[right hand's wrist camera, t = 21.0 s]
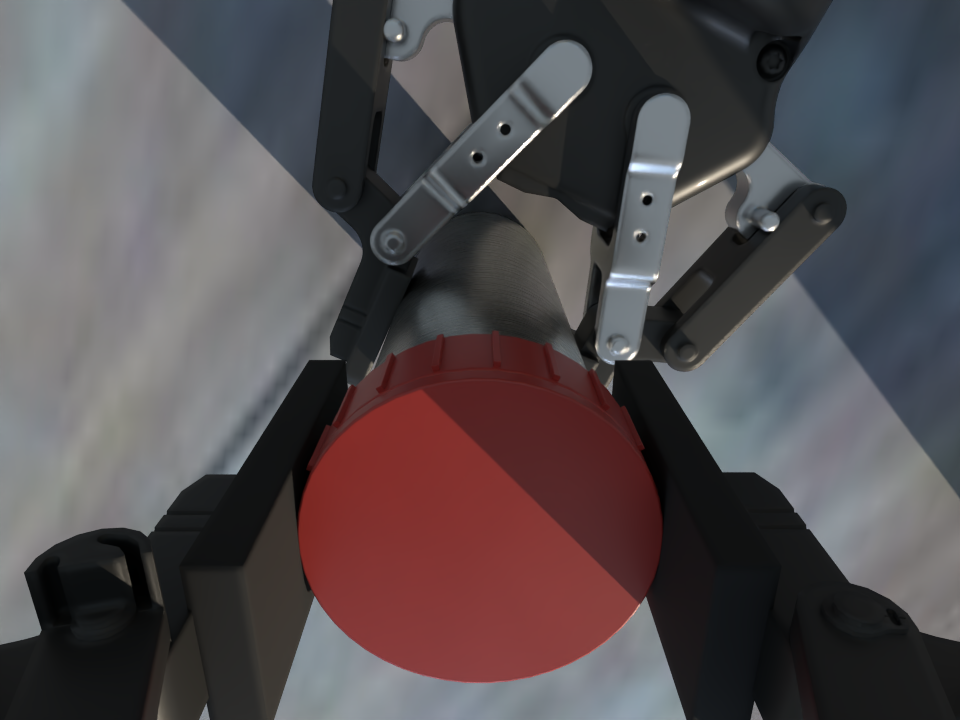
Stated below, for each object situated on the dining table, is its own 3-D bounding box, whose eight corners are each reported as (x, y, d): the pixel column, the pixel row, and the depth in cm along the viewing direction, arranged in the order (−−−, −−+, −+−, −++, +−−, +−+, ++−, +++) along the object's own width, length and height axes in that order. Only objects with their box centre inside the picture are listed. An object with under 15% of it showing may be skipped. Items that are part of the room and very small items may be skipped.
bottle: (573, 287, 25) (687, 530, 11) (471, 365, 26) (462, 672, 12) (489, 183, 24) (502, 312, 10) (386, 269, 25) (267, 496, 11)
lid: (463, 651, 14) (460, 736, 12) (253, 462, 12) (214, 528, 10) (701, 496, 12) (739, 565, 10) (502, 258, 11) (506, 293, 9)
